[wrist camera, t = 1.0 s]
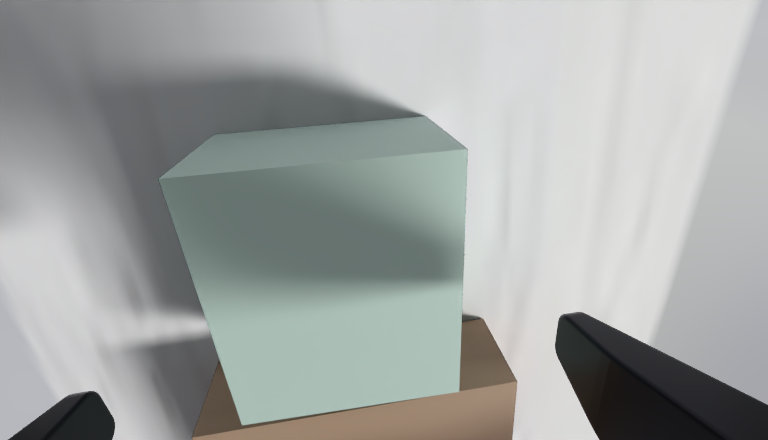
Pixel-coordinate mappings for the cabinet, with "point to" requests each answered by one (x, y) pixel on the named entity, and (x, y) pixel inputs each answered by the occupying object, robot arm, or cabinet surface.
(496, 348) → the walnut block
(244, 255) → the sage block
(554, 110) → the cabinet surface
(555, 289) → the cabinet surface
